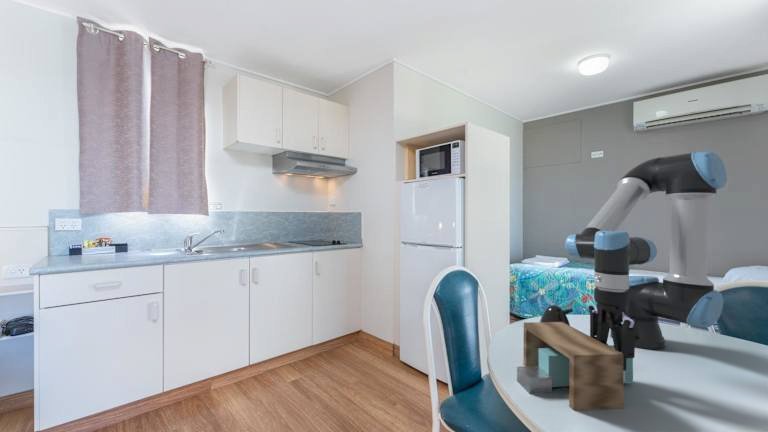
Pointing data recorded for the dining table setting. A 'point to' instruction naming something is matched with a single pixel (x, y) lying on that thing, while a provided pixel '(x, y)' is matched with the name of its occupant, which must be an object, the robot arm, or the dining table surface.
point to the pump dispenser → (555, 314)
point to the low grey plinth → (534, 379)
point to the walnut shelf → (579, 364)
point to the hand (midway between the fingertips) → (610, 375)
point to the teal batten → (560, 364)
